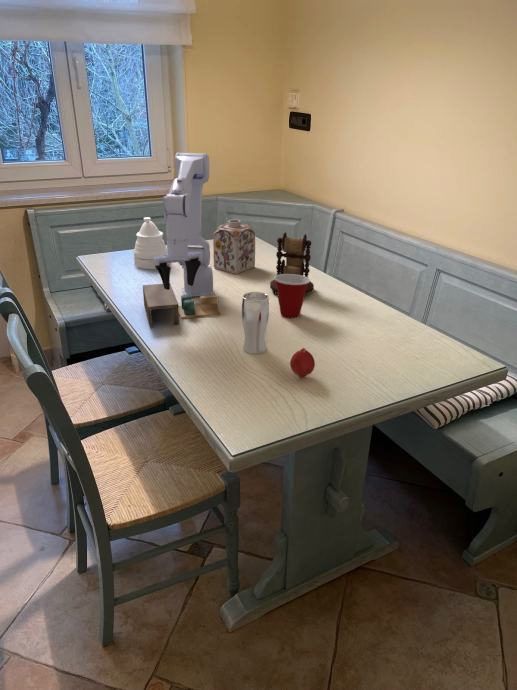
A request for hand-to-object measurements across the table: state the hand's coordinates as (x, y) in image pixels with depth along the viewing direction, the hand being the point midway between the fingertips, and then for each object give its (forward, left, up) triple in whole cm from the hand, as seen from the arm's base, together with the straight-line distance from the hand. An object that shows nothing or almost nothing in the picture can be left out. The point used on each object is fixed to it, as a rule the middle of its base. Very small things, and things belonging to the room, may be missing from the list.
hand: (178, 286), depth 150 cm
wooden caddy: (+5, -6, -11) cm, 13 cm away
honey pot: (+3, -57, -11) cm, 58 cm away
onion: (-23, +40, -11) cm, 47 cm away
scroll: (-40, -16, -11) cm, 45 cm away
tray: (-6, -6, -11) cm, 14 cm away
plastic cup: (-33, +3, -11) cm, 35 cm away
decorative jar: (-27, -45, -11) cm, 54 cm away
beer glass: (-16, +23, -11) cm, 30 cm away
